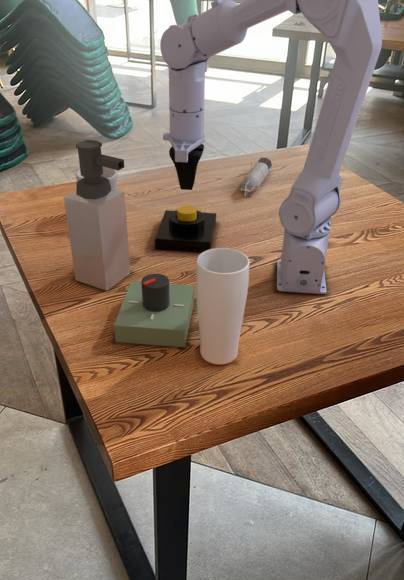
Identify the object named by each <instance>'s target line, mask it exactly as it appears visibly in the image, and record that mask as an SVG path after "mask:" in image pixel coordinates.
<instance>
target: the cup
mask: <svg viewBox="0 0 404 580" xmlns="http://www.w3.org/2000/svg"><path fill="white" fill-rule="evenodd" d="M118 173H119V172H118V170H114V169H110V168H107V167H103V174H102V175H101V176H103V177H105V178H107V179H109V182H110V186H111V188H113V189H117V190H118V181H119V180H118V175H119V174H118ZM82 178H84V177H83V176H81V172H80V169H78V170H77V171H76V173H75V179H76V183H77V182H78V181H79V180H81V179H82Z"/></svg>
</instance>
